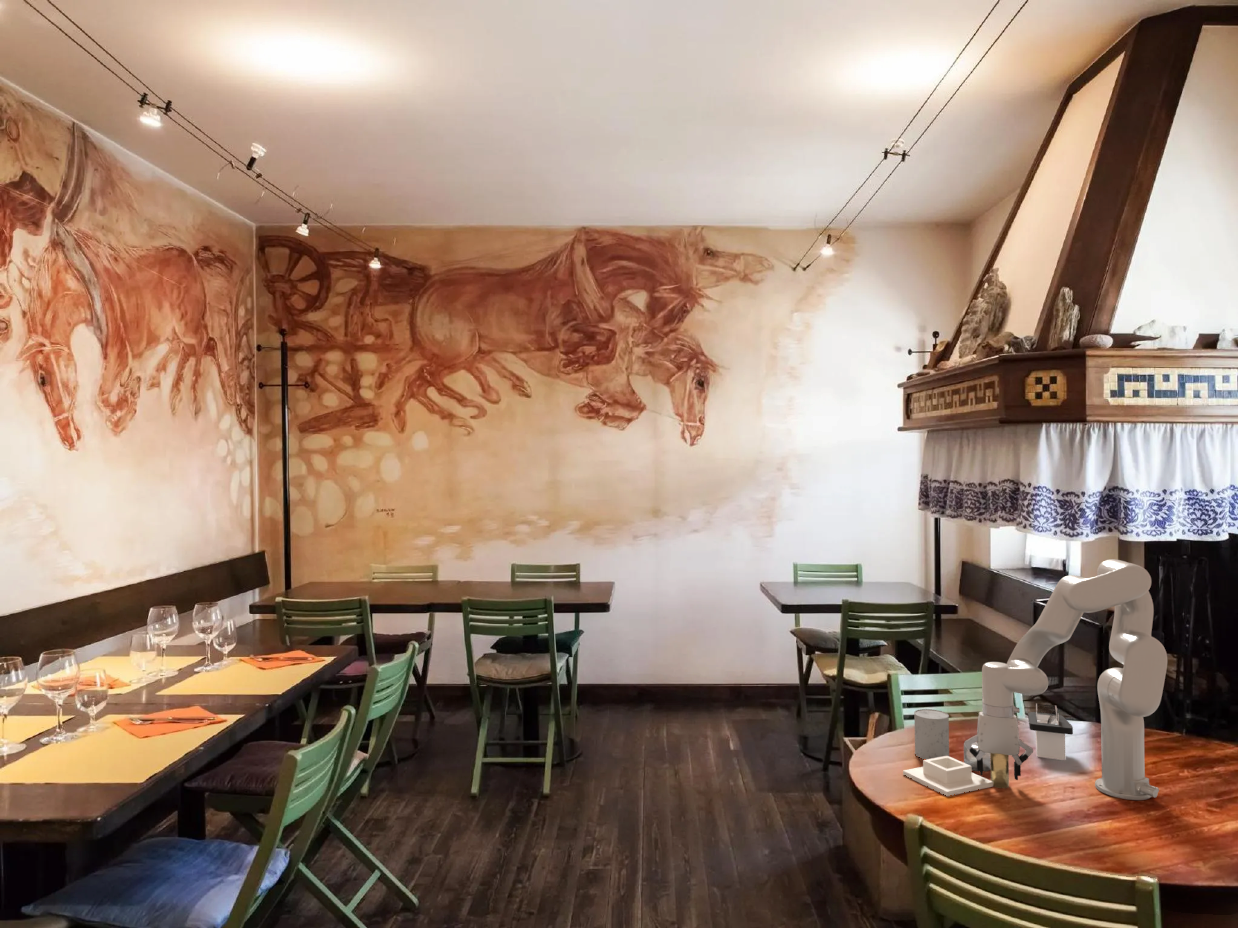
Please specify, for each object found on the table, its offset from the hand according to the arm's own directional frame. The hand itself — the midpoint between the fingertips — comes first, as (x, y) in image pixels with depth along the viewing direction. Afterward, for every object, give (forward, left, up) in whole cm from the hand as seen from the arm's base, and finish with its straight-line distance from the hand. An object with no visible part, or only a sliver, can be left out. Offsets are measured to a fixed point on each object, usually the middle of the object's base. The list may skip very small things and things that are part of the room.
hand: (998, 775), depth 215 cm
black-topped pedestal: (+11, -33, -3) cm, 35 cm away
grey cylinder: (+24, 0, -3) cm, 24 cm away
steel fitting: (+12, -5, -3) cm, 13 cm away
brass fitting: (0, 0, -3) cm, 3 cm away
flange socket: (+8, +10, -3) cm, 13 cm away
